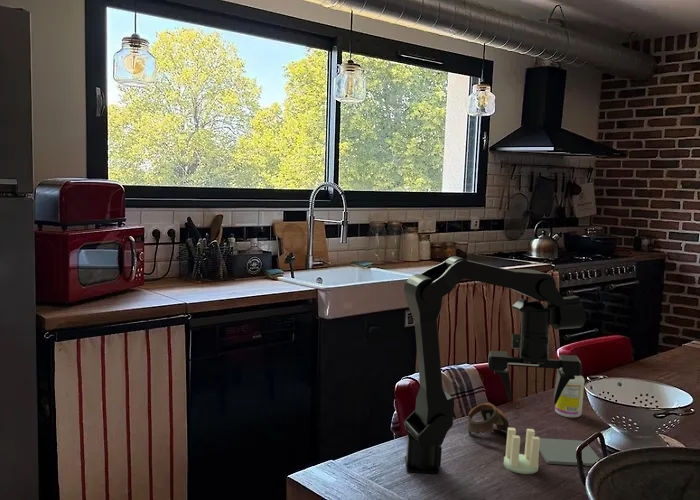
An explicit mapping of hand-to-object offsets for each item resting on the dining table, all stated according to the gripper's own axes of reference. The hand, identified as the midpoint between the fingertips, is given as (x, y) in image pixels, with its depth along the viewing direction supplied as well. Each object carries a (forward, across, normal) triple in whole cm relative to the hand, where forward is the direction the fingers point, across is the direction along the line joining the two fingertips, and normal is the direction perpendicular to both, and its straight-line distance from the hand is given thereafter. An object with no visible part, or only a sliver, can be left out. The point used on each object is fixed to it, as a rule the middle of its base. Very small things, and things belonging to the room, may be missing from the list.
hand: (532, 401), depth 136 cm
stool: (+12, +2, +4) cm, 13 cm away
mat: (+13, -8, -6) cm, 16 cm away
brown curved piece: (+13, +9, -11) cm, 19 cm away
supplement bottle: (+14, -12, -31) cm, 36 cm away
